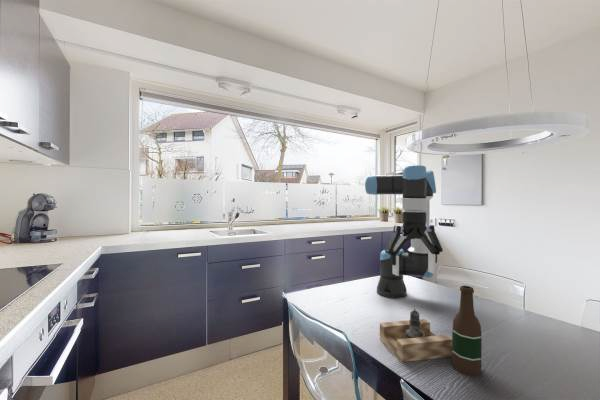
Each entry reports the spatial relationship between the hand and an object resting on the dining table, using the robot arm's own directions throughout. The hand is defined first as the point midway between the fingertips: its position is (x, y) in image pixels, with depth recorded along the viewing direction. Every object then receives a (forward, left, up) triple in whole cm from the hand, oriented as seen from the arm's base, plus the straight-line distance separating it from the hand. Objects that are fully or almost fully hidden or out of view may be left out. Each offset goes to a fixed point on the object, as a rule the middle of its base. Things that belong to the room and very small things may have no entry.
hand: (413, 273), depth 90 cm
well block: (0, +1, -25) cm, 25 cm away
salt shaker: (0, +1, -24) cm, 24 cm away
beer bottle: (-8, +14, -25) cm, 29 cm away
